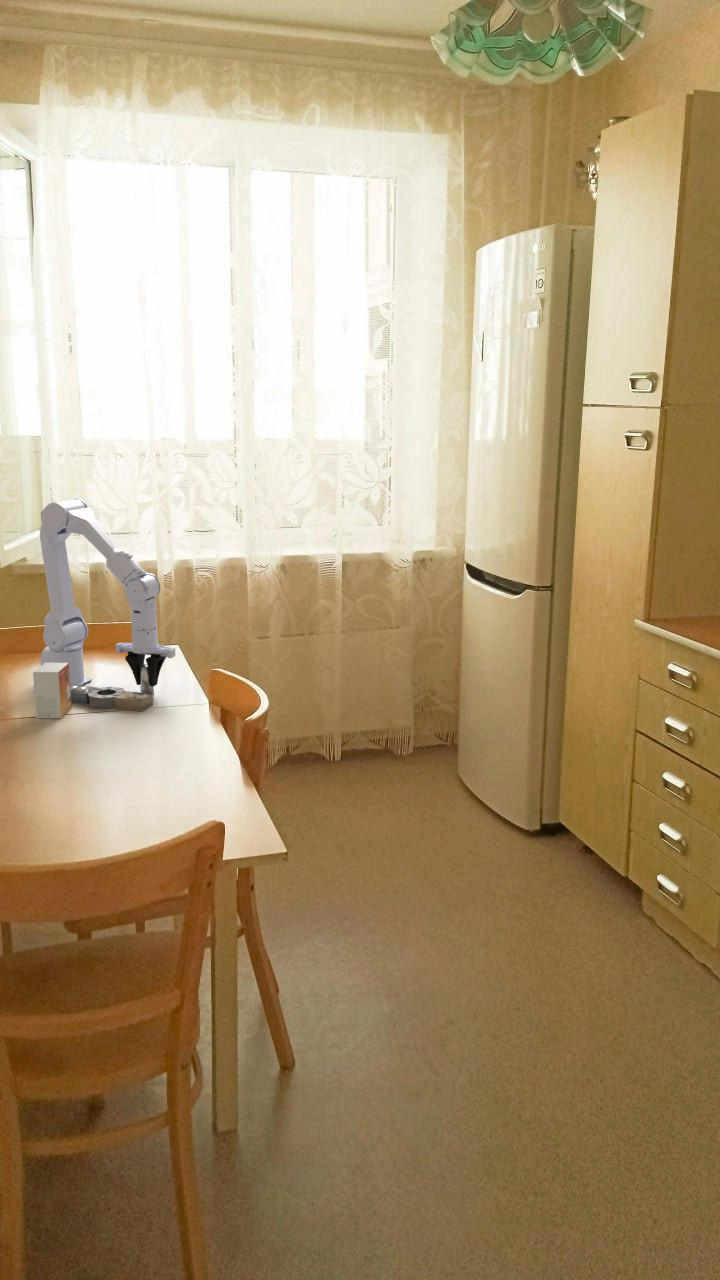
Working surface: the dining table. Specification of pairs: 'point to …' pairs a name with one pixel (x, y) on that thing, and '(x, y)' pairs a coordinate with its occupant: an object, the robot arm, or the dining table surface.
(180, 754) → the dining table surface
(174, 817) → the dining table surface
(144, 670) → the pin
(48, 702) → the small box
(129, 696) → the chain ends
